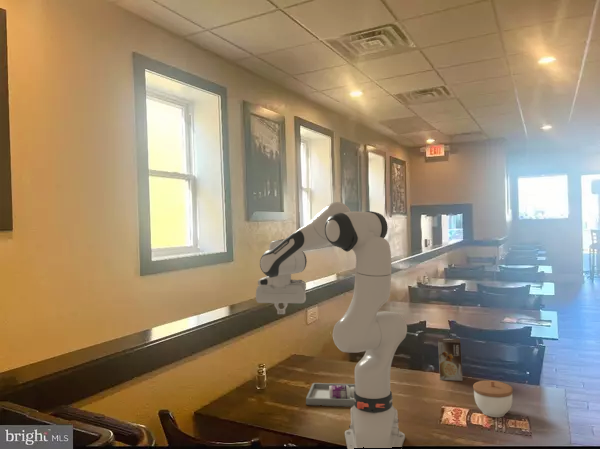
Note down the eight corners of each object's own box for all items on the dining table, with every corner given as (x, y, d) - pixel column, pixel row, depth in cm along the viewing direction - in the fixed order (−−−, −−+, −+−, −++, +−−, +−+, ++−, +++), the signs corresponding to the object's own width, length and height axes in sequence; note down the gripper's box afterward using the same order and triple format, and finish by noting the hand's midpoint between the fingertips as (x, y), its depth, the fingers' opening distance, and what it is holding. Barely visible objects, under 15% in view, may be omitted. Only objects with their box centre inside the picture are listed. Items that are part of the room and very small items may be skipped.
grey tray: (362, 407, 169) (362, 400, 169) (306, 404, 173) (305, 398, 173) (364, 390, 185) (364, 384, 185) (313, 388, 189) (312, 382, 189)
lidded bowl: (466, 409, 164) (465, 378, 164) (494, 402, 168) (493, 372, 168) (492, 423, 152) (491, 390, 152) (522, 416, 156) (520, 384, 156)
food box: (461, 376, 197) (460, 338, 196) (462, 381, 191) (461, 342, 190) (439, 374, 199) (438, 337, 199) (439, 379, 193) (438, 341, 193)
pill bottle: (328, 383, 179) (354, 382, 178) (329, 397, 178) (354, 396, 178) (329, 388, 173) (355, 387, 173) (329, 402, 173) (355, 402, 173)
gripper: (307, 278, 187) (308, 312, 188) (258, 278, 191) (259, 311, 192) (304, 281, 181) (305, 316, 181) (253, 280, 185) (255, 315, 185)
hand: (281, 313), depth 187 cm, fingers closed
